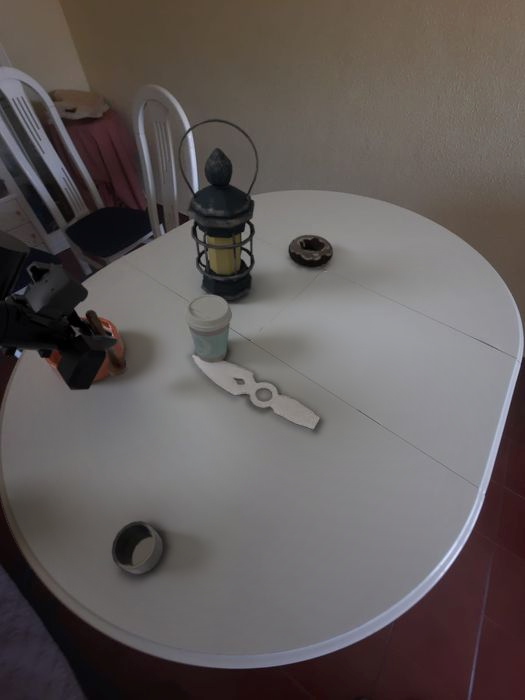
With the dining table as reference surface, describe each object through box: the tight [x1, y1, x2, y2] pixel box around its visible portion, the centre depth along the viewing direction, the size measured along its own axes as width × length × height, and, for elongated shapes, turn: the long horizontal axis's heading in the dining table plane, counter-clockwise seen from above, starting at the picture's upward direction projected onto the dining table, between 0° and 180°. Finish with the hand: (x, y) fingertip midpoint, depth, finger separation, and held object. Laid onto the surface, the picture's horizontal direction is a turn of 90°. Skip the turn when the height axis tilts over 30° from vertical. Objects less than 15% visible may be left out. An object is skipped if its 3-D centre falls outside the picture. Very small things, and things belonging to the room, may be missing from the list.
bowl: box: [43, 316, 125, 383], centre depth 66 cm, size 13×13×5 cm
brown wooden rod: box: [84, 309, 129, 377], centre depth 53 cm, size 3×3×13 cm
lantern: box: [177, 118, 259, 301], centre depth 68 cm, size 14×13×35 cm
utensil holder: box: [111, 520, 164, 575], centre depth 45 cm, size 5×5×4 cm
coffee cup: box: [184, 294, 233, 363], centre depth 65 cm, size 8×8×12 cm
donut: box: [287, 234, 334, 269], centre depth 89 cm, size 12×12×4 cm
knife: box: [191, 354, 320, 430], centre depth 64 cm, size 6×28×1 cm, turn 58°
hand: (113, 338), depth 53 cm, fingers closed on brown wooden rod
